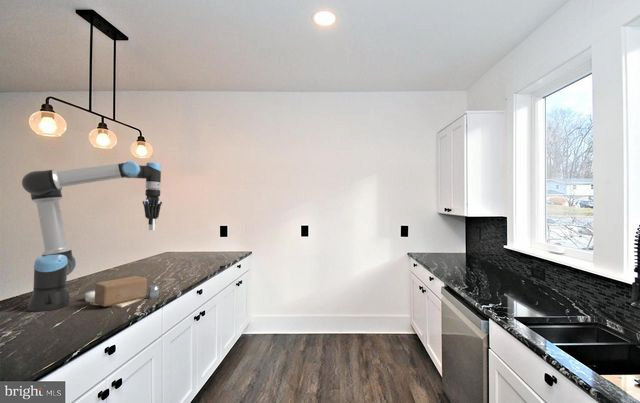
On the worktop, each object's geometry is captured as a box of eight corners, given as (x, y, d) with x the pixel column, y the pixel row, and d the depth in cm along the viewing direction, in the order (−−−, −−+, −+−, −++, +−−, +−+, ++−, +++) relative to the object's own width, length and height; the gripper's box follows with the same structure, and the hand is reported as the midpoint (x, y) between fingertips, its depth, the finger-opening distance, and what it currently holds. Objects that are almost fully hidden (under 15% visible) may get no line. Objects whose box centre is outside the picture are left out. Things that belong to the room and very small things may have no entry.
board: (89, 304, 147) (90, 302, 147) (117, 295, 163) (117, 293, 163) (121, 307, 143) (121, 305, 144) (146, 297, 159) (147, 295, 159)
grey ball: (145, 298, 158) (146, 287, 158) (152, 295, 163) (152, 284, 163) (154, 299, 157) (154, 287, 157) (160, 296, 162) (161, 285, 162)
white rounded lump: (82, 301, 151) (82, 293, 151) (93, 297, 157) (93, 290, 157) (92, 302, 150) (92, 294, 150) (102, 298, 156) (103, 291, 156)
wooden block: (147, 297, 157) (103, 307, 140) (136, 293, 162) (93, 303, 145) (147, 277, 157) (104, 285, 140) (137, 275, 162) (94, 282, 145)
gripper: (150, 188, 168) (148, 231, 167) (166, 190, 181) (165, 229, 180) (138, 188, 169) (137, 230, 169) (155, 190, 182) (154, 229, 182)
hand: (151, 230), depth 175 cm, fingers closed
